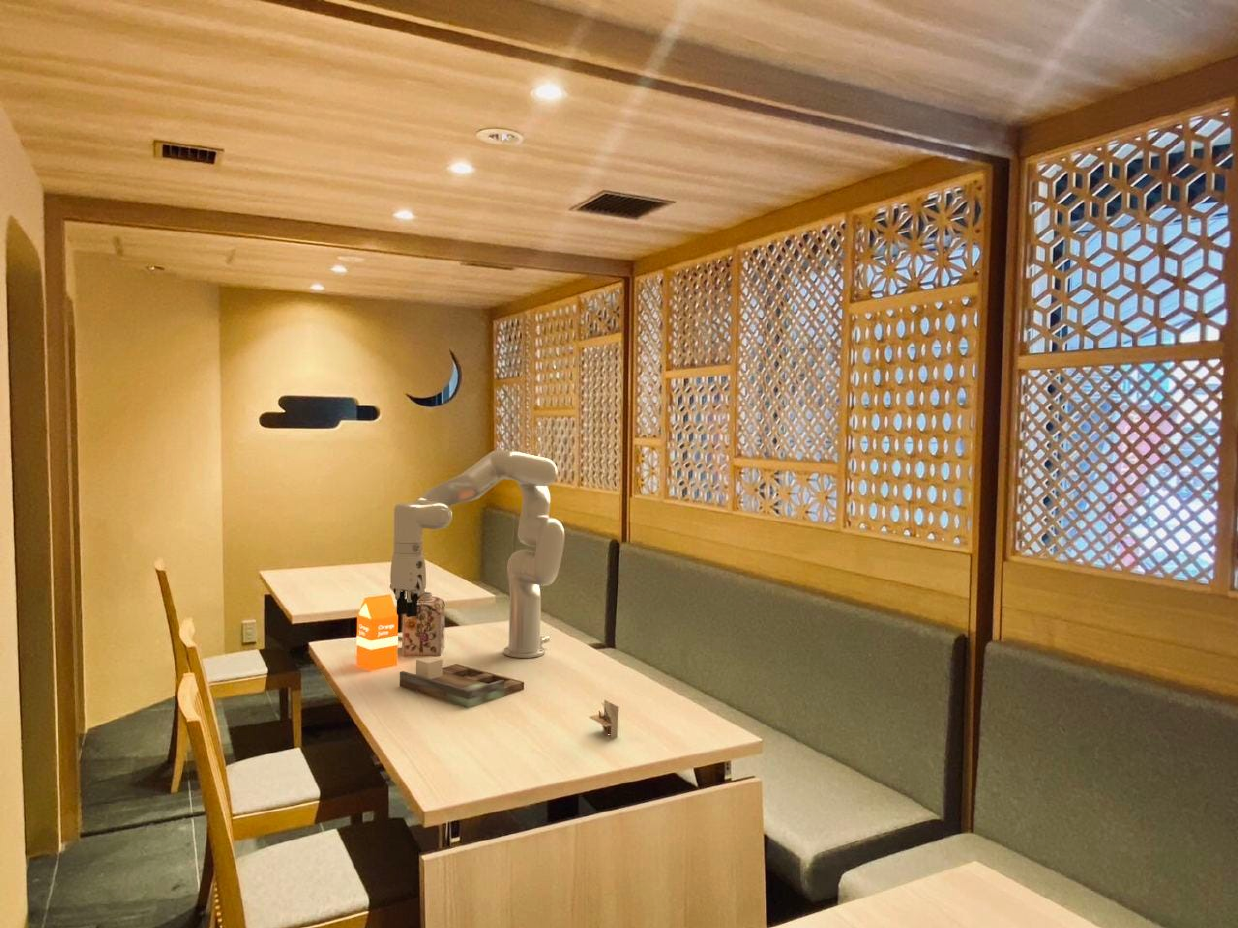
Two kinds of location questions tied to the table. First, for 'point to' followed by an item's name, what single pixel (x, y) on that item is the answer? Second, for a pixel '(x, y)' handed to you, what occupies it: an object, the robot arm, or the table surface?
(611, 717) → the architectural model
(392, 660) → the orange juice
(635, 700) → the table surface
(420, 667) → the block
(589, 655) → the table surface
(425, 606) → the decorative jar
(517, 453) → the robot arm
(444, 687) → the board
